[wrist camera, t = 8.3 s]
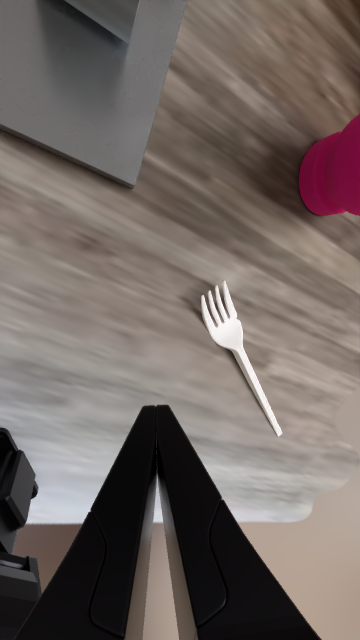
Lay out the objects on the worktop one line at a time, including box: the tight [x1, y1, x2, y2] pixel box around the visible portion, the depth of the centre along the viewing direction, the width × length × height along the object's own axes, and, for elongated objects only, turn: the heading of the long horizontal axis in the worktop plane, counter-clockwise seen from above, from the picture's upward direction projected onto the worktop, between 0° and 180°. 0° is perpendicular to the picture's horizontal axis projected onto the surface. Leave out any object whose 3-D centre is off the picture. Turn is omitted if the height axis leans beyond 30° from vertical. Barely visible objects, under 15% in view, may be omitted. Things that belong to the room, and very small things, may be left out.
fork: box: [201, 280, 282, 437], centre depth 25 cm, size 3×20×2 cm, turn 29°
